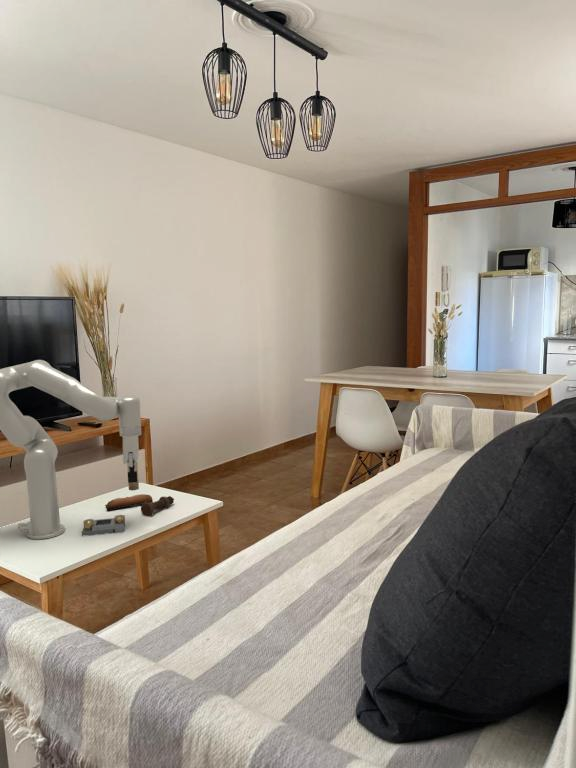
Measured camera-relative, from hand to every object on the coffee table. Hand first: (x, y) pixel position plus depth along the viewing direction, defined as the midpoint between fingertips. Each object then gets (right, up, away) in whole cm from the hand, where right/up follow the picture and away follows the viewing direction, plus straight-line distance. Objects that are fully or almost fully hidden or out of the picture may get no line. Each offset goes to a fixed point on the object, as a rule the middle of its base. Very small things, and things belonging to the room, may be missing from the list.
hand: (133, 480), depth 212 cm
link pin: (0, -3, 0) cm, 3 cm away
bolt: (+6, -14, +15) cm, 22 cm away
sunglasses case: (-8, -14, +23) cm, 28 cm away
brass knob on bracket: (-9, -17, -5) cm, 20 cm away
